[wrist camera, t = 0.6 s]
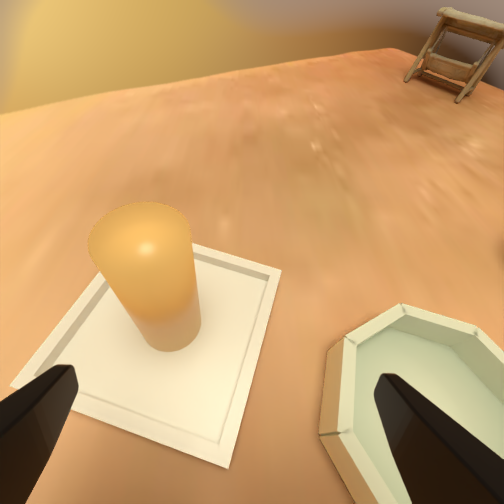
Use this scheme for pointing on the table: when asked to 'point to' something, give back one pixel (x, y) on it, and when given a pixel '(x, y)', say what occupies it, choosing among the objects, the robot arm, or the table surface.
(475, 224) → the table surface
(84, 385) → the parts tray
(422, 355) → the sage bowl
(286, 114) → the table surface
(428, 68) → the swing bench
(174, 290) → the orange tapered cylinder
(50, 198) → the table surface
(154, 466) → the table surface
